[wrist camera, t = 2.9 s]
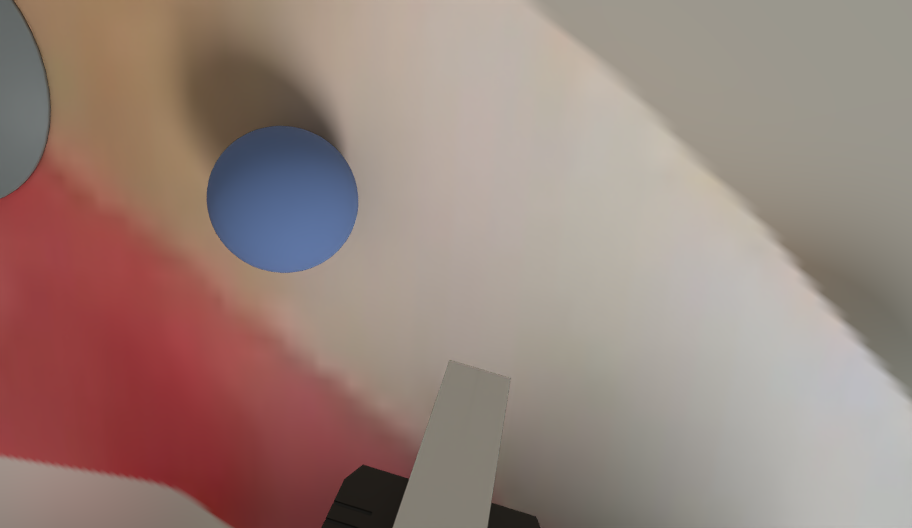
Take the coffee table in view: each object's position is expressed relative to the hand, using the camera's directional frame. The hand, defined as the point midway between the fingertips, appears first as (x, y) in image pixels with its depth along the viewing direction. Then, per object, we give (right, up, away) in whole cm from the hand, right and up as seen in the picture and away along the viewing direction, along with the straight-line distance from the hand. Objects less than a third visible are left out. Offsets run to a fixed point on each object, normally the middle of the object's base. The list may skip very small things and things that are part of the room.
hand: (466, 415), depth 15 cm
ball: (-7, +6, +11) cm, 14 cm away
